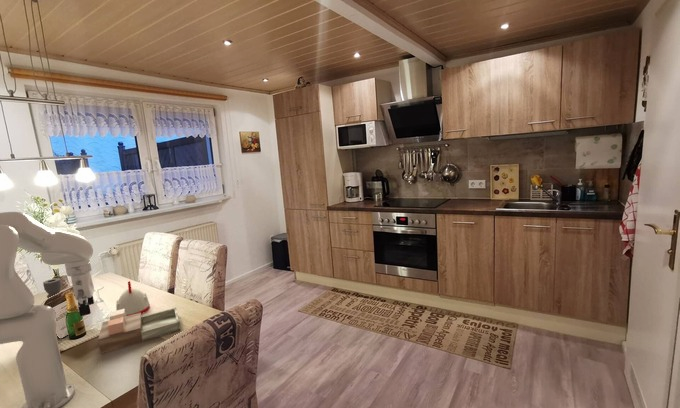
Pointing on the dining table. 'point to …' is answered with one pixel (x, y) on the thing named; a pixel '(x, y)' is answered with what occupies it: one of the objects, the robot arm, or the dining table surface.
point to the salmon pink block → (116, 326)
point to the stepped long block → (139, 329)
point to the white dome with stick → (133, 301)
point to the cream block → (118, 314)
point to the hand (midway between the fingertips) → (87, 309)
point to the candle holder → (52, 287)
